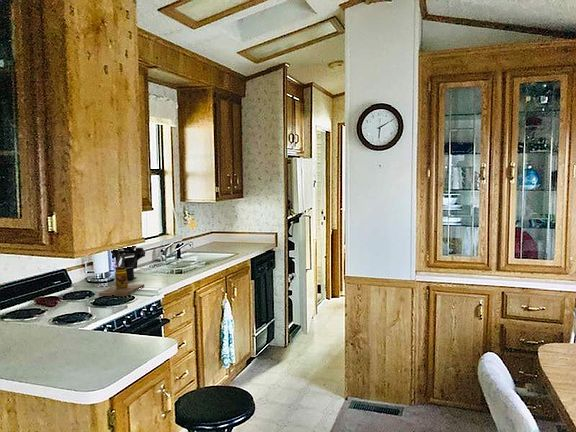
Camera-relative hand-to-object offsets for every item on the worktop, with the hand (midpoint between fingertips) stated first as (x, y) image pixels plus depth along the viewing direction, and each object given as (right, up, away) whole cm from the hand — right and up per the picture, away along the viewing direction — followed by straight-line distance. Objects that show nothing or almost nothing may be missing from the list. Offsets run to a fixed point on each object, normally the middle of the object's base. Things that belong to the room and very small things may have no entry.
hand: (124, 264), depth 287 cm
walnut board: (+2, -13, -10) cm, 17 cm away
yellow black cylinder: (+1, -12, -10) cm, 16 cm away
